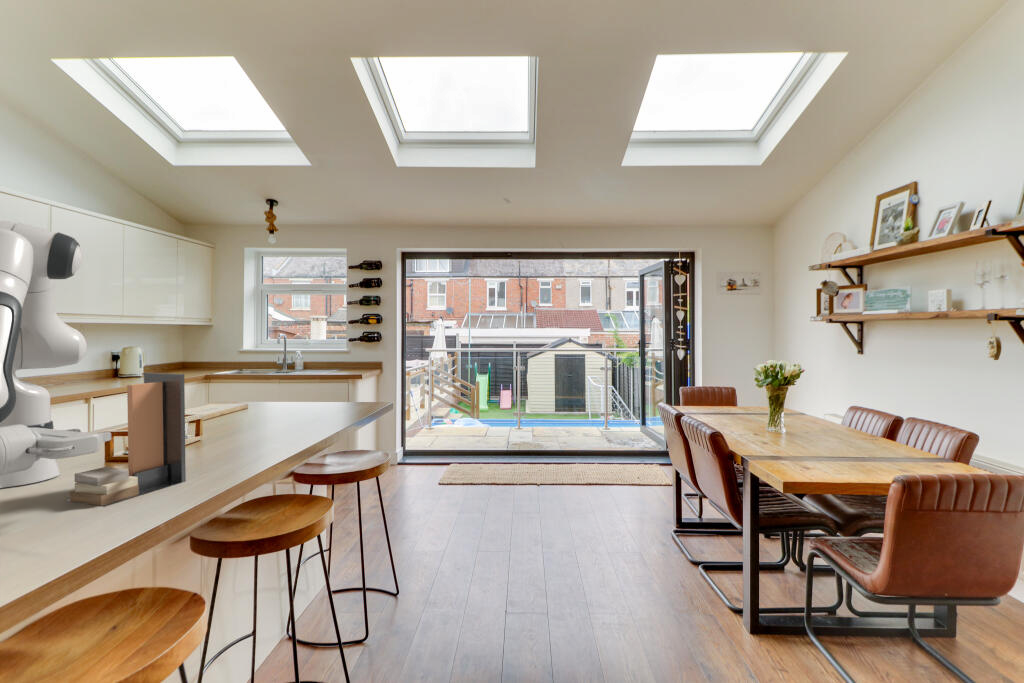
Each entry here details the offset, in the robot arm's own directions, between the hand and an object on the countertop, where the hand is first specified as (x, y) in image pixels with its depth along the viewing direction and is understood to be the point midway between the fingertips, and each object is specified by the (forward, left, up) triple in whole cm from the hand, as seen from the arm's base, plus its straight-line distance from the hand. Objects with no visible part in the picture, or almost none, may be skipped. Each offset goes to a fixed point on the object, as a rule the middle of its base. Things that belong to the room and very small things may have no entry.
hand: (93, 434), depth 105 cm
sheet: (+3, +11, -14) cm, 18 cm away
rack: (+2, +7, -16) cm, 17 cm away
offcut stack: (+1, +2, -14) cm, 14 cm away
